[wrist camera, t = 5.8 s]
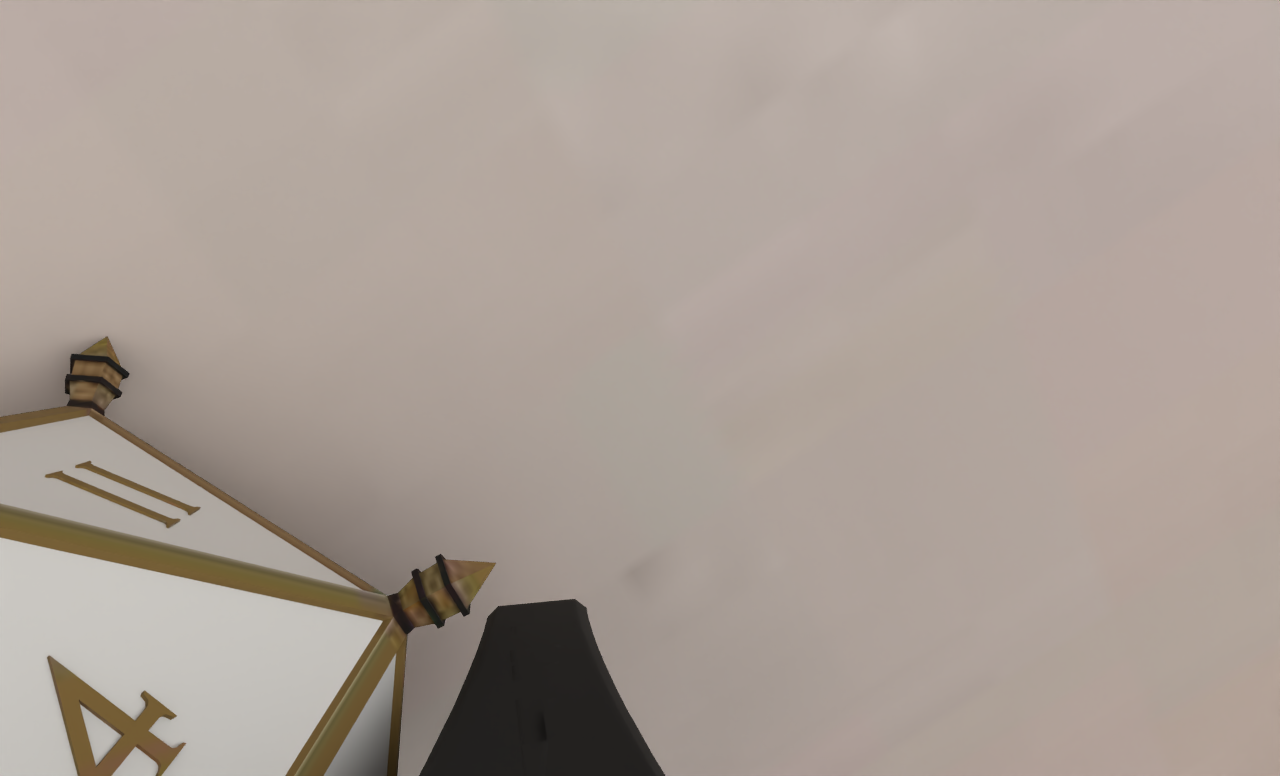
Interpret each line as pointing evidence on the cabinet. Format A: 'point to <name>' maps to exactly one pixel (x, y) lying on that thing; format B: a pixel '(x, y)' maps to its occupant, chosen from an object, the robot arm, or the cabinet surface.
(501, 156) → the cabinet surface
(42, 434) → the game die
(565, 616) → the robot arm
